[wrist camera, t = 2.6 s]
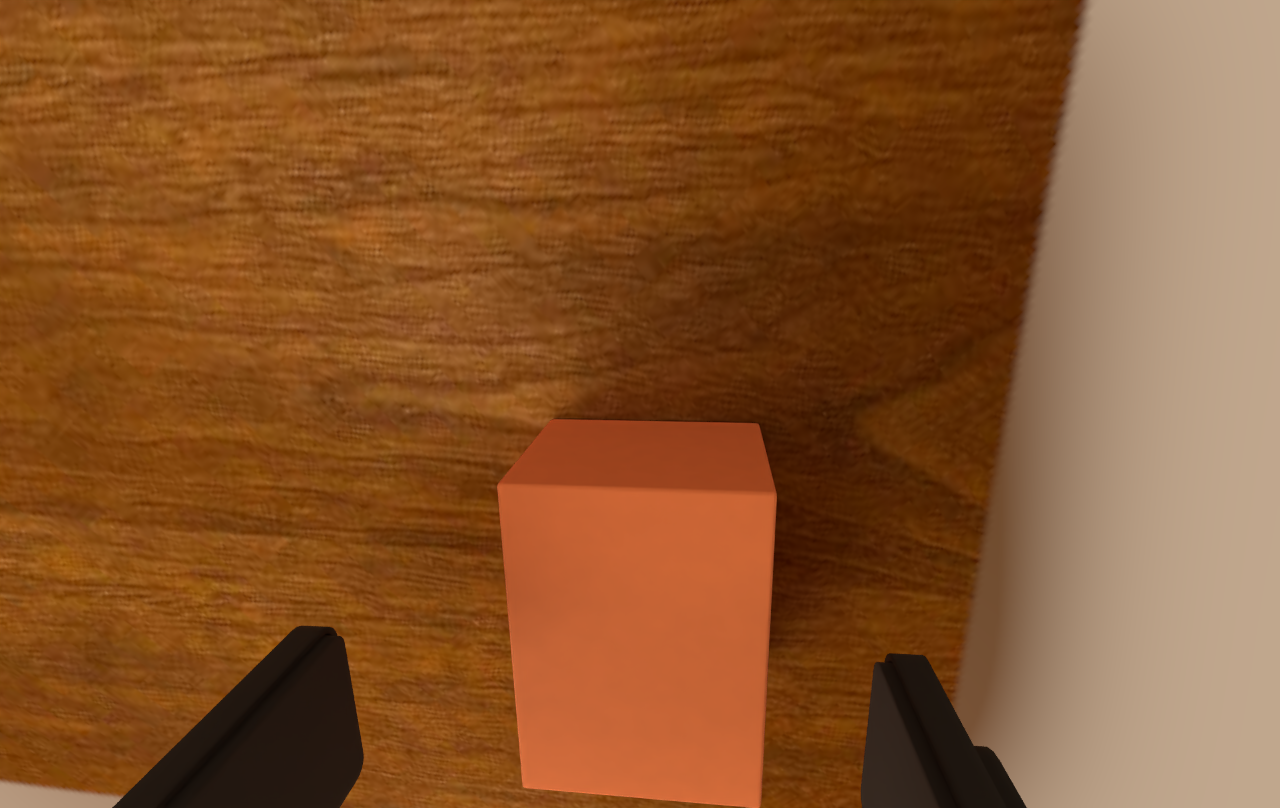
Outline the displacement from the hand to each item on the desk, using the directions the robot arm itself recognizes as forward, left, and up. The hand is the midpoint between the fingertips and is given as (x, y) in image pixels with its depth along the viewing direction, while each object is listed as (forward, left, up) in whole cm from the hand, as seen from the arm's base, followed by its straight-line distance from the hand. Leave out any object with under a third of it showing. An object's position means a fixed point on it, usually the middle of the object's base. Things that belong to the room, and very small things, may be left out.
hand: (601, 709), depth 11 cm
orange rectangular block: (0, 0, -5) cm, 5 cm away
